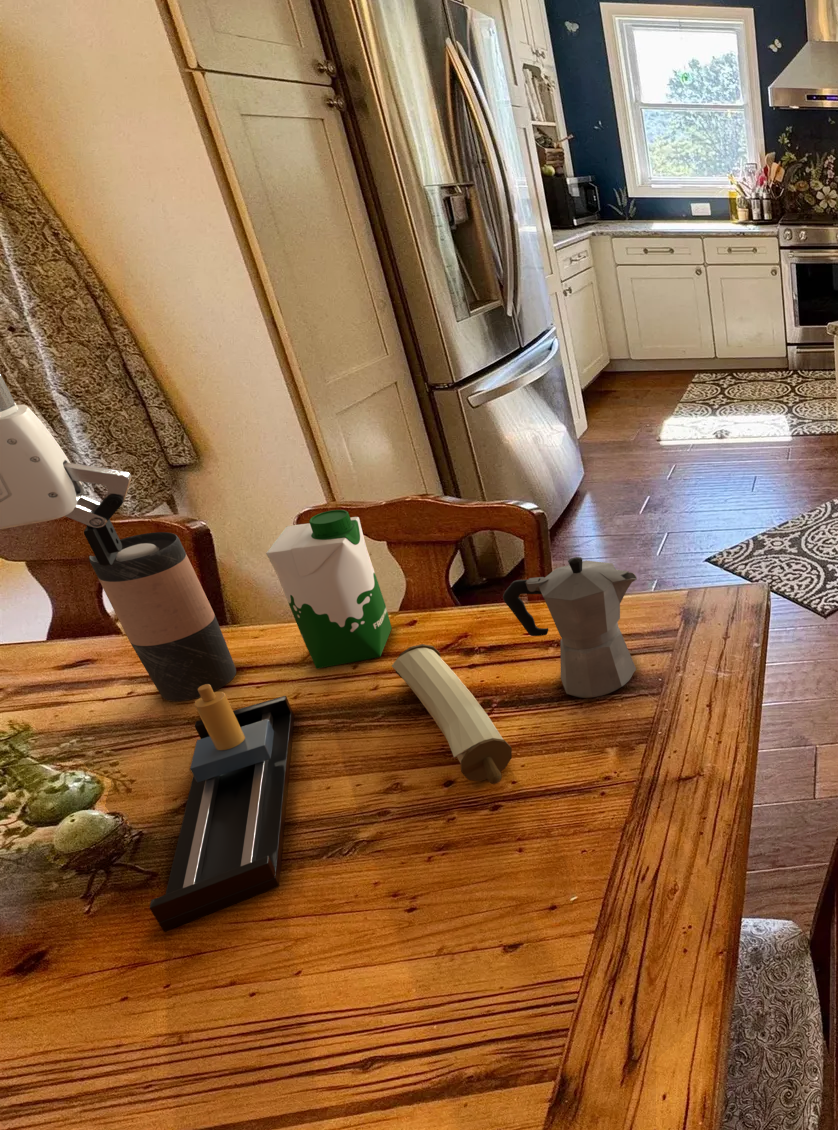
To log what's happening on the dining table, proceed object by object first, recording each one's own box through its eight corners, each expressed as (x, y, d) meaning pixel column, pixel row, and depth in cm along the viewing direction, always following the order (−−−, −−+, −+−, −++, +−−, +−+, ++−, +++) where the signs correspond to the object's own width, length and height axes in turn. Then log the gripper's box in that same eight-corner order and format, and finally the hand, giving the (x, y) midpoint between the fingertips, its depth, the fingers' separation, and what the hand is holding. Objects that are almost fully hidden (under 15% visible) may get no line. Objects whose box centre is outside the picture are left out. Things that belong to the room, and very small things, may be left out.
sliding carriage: (197, 783, 80) (160, 711, 76) (203, 753, 84) (168, 684, 80) (271, 759, 84) (239, 689, 80) (274, 731, 87) (243, 664, 83)
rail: (163, 932, 68) (148, 908, 67) (206, 742, 88) (195, 721, 87) (279, 886, 72) (267, 863, 71) (294, 715, 93) (285, 695, 91)
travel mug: (249, 678, 99) (189, 543, 90) (170, 711, 93) (98, 570, 84) (226, 656, 102) (167, 525, 94) (149, 688, 96) (78, 550, 88)
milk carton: (387, 659, 103) (341, 529, 94) (304, 675, 99) (249, 541, 91) (401, 623, 110) (360, 499, 102) (324, 637, 107) (275, 510, 98)
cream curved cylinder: (529, 783, 84) (520, 749, 82) (473, 812, 81) (462, 777, 79) (438, 654, 104) (428, 624, 102) (390, 673, 100) (379, 642, 98)
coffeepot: (656, 648, 107) (637, 535, 99) (648, 692, 98) (626, 572, 91) (535, 662, 103) (506, 546, 96) (516, 709, 95) (483, 586, 87)
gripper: (-251, 435, 58) (-124, 622, 65) (77, 398, 67) (156, 565, 74) (-199, 407, 63) (-87, 583, 70) (98, 376, 73) (170, 534, 80)
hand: (38, 573), depth 72 cm, fingers open, 9 cm apart
